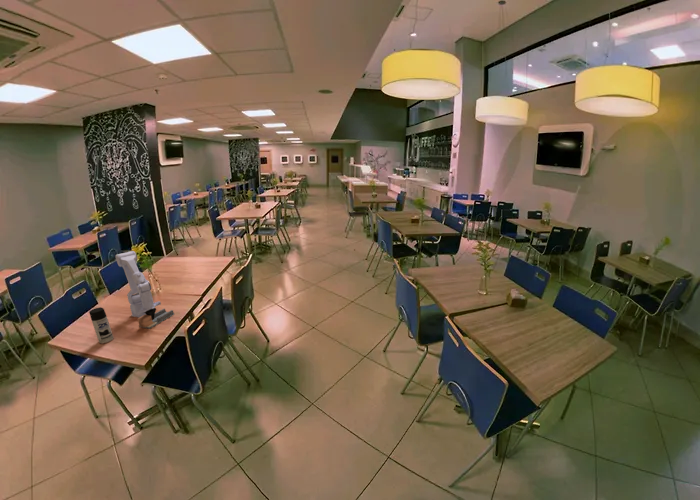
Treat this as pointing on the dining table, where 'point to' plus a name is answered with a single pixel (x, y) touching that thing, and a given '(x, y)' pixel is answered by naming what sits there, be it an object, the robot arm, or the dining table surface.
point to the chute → (160, 317)
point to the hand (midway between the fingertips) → (152, 319)
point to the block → (145, 320)
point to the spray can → (101, 325)
